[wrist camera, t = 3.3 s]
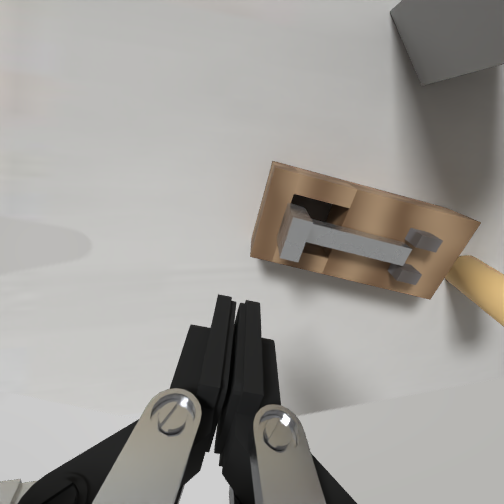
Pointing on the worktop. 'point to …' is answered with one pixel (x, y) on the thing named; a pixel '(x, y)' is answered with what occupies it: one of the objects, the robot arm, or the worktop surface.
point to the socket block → (369, 221)
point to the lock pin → (333, 238)
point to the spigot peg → (479, 285)
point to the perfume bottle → (451, 36)
